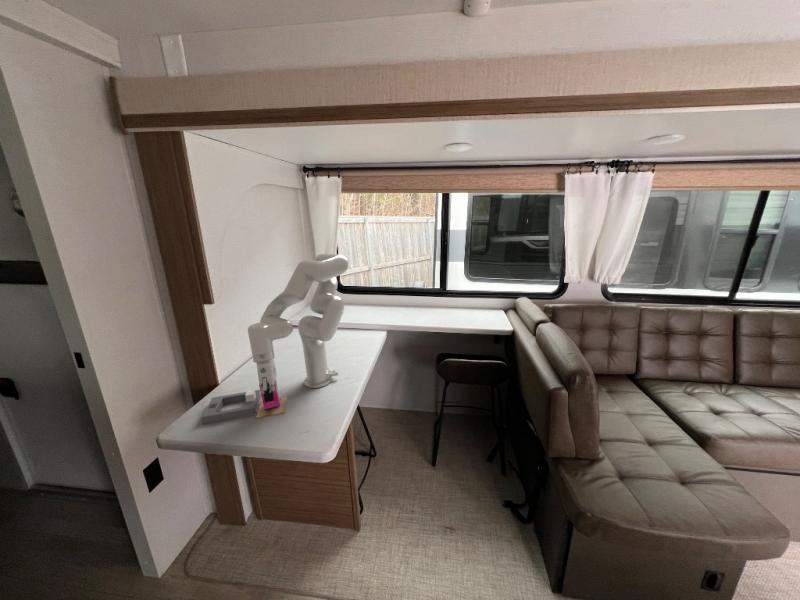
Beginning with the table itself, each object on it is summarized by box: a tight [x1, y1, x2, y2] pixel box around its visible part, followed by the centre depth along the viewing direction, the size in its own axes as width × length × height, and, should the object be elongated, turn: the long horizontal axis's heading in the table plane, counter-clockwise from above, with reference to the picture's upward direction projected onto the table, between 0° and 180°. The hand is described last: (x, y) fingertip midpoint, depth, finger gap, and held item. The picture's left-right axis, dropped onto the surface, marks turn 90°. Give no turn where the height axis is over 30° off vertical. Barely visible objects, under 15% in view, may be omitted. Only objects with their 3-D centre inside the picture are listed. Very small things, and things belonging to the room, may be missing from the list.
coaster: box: [256, 397, 287, 419], centre depth 118 cm, size 10×10×1 cm
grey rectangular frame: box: [200, 389, 262, 425], centre depth 117 cm, size 18×13×6 cm
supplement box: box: [258, 379, 281, 410], centre depth 116 cm, size 6×6×12 cm
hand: (270, 395), depth 117 cm, fingers closed on supplement box, 6 cm apart
